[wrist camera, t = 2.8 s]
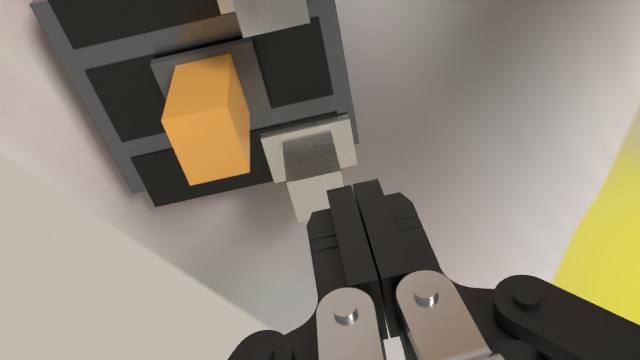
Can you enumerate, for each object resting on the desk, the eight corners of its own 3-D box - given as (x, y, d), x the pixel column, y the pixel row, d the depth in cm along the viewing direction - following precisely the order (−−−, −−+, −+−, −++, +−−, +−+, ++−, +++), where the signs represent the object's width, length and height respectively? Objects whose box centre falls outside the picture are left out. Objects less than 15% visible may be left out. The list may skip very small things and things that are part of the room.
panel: (312, -104, 21) (333, -73, 16) (355, 139, 28) (378, 212, 23) (31, -38, 21) (-35, 13, 16) (147, 186, 29) (126, 267, 24)
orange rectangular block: (251, 36, 22) (252, 92, 18) (271, 108, 24) (277, 172, 20) (151, 59, 22) (130, 120, 18) (181, 129, 24) (168, 196, 20)
